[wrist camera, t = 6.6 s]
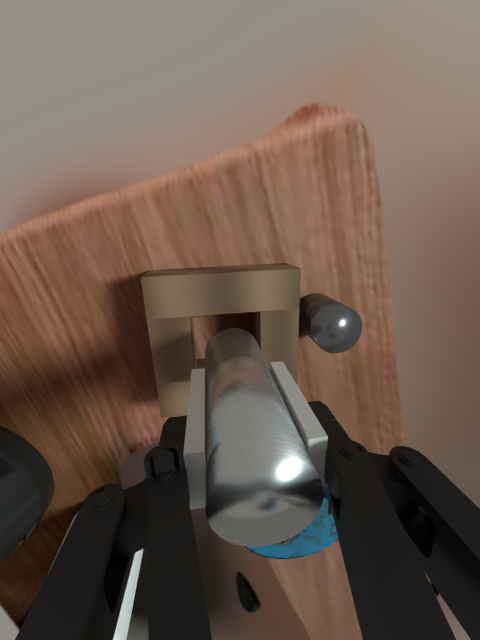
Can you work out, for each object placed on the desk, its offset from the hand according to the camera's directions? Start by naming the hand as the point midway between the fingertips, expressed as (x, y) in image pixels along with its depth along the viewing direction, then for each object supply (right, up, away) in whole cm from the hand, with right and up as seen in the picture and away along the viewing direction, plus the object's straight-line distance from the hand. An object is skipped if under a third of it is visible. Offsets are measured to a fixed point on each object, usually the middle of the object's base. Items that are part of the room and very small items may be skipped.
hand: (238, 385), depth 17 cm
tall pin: (0, +1, +4) cm, 4 cm away
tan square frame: (-1, +3, +10) cm, 10 cm away
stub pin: (+7, +5, +10) cm, 13 cm away
